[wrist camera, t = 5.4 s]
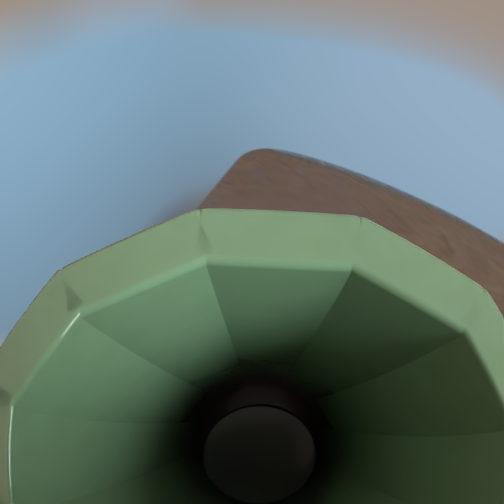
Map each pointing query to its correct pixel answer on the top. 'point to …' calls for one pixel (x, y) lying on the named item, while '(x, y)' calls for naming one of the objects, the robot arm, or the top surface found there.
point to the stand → (259, 444)
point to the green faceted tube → (255, 364)
